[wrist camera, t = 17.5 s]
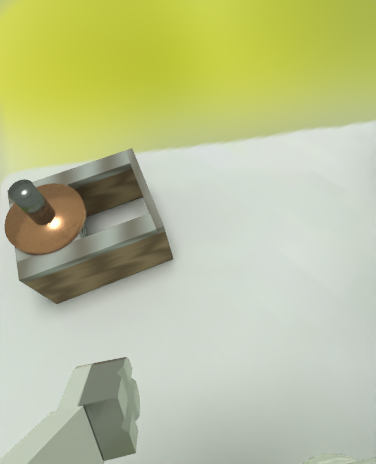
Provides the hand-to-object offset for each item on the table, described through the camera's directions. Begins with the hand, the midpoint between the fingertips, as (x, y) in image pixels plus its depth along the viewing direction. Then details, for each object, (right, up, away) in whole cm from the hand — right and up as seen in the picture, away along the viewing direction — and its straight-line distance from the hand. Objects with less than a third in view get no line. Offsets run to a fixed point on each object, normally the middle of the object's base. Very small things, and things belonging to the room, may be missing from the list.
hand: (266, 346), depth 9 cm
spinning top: (-20, +3, +36) cm, 41 cm away
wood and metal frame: (-15, +2, +41) cm, 44 cm away
